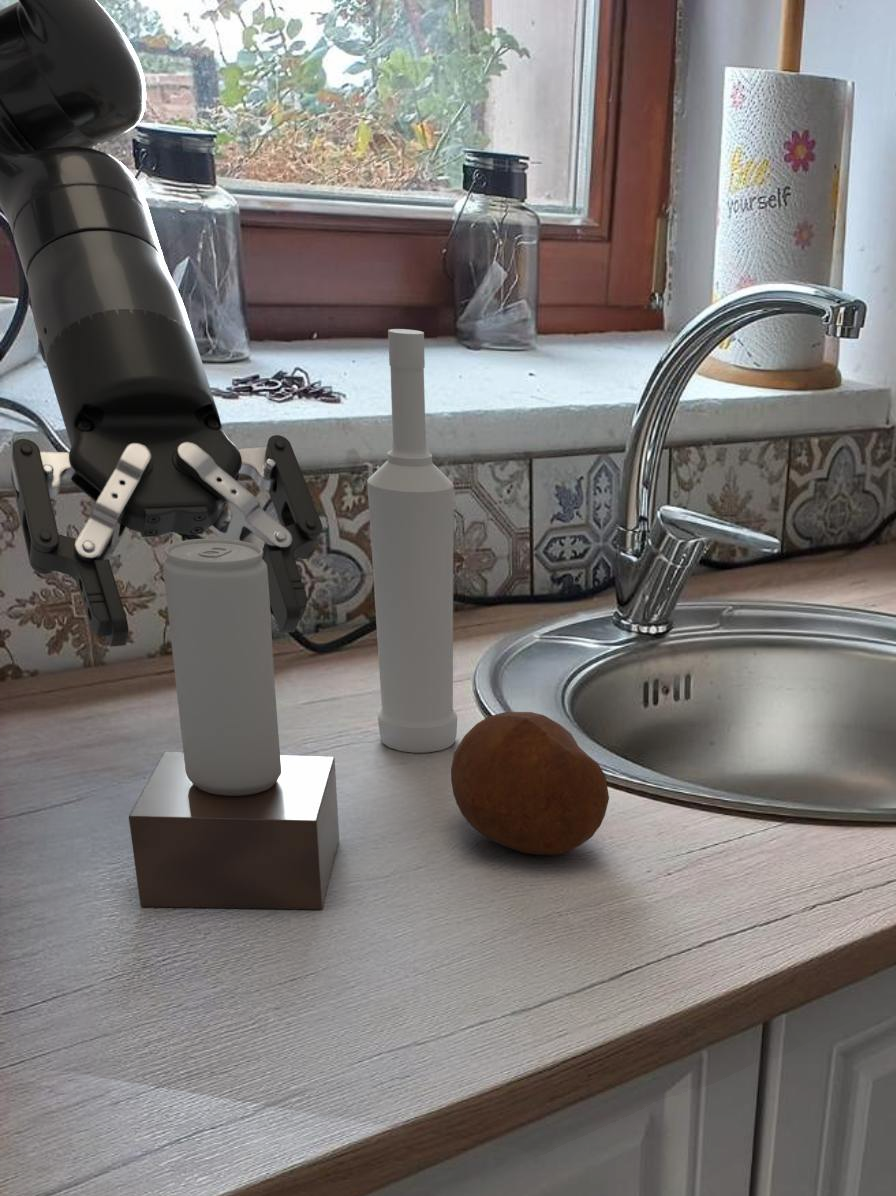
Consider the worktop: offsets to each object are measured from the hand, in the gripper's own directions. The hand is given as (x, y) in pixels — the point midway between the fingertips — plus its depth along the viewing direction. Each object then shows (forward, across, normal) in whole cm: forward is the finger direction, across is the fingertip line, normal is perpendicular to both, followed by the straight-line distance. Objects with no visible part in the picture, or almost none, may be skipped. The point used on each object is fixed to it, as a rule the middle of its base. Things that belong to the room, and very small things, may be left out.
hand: (208, 631), depth 78 cm
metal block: (+10, 0, +7) cm, 13 cm away
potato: (+12, +16, +6) cm, 21 cm away
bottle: (0, +16, +18) cm, 25 cm away
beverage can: (+7, 0, +4) cm, 8 cm away
